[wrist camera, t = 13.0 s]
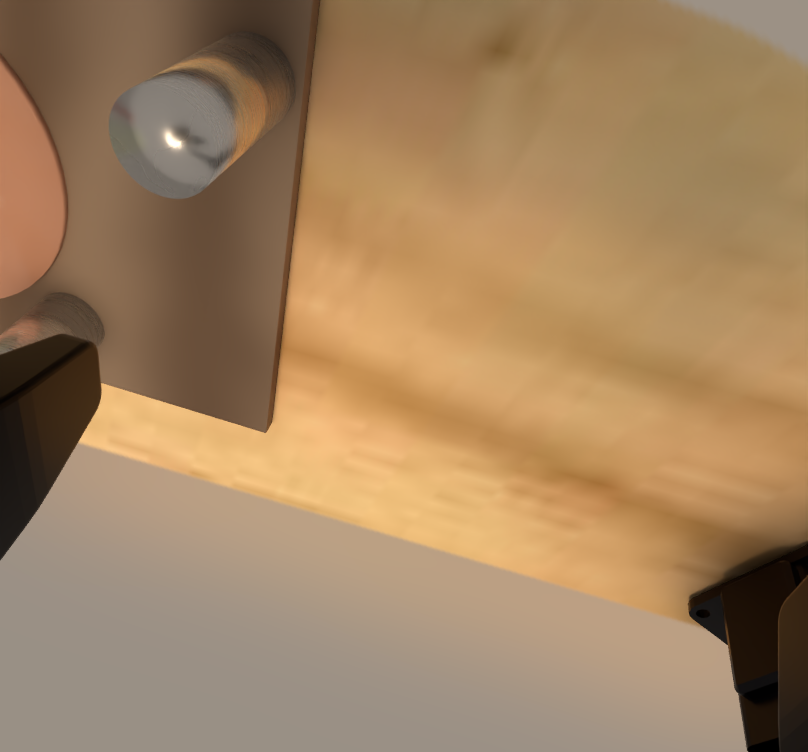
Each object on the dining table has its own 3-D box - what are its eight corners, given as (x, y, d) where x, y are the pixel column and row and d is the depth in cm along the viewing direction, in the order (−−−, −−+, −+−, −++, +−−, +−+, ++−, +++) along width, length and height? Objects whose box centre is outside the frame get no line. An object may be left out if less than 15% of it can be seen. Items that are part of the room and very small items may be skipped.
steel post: (313, 81, 19) (237, 147, 15) (87, 361, 27) (-2, 452, 23) (241, 9, 18) (141, 58, 14) (30, 317, 26) (-72, 404, 22)
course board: (321, -13, 18) (309, -7, 17) (271, 422, 27) (263, 438, 27) (-331, -191, 19) (-367, -192, 18) (-164, 290, 28) (-184, 301, 28)
